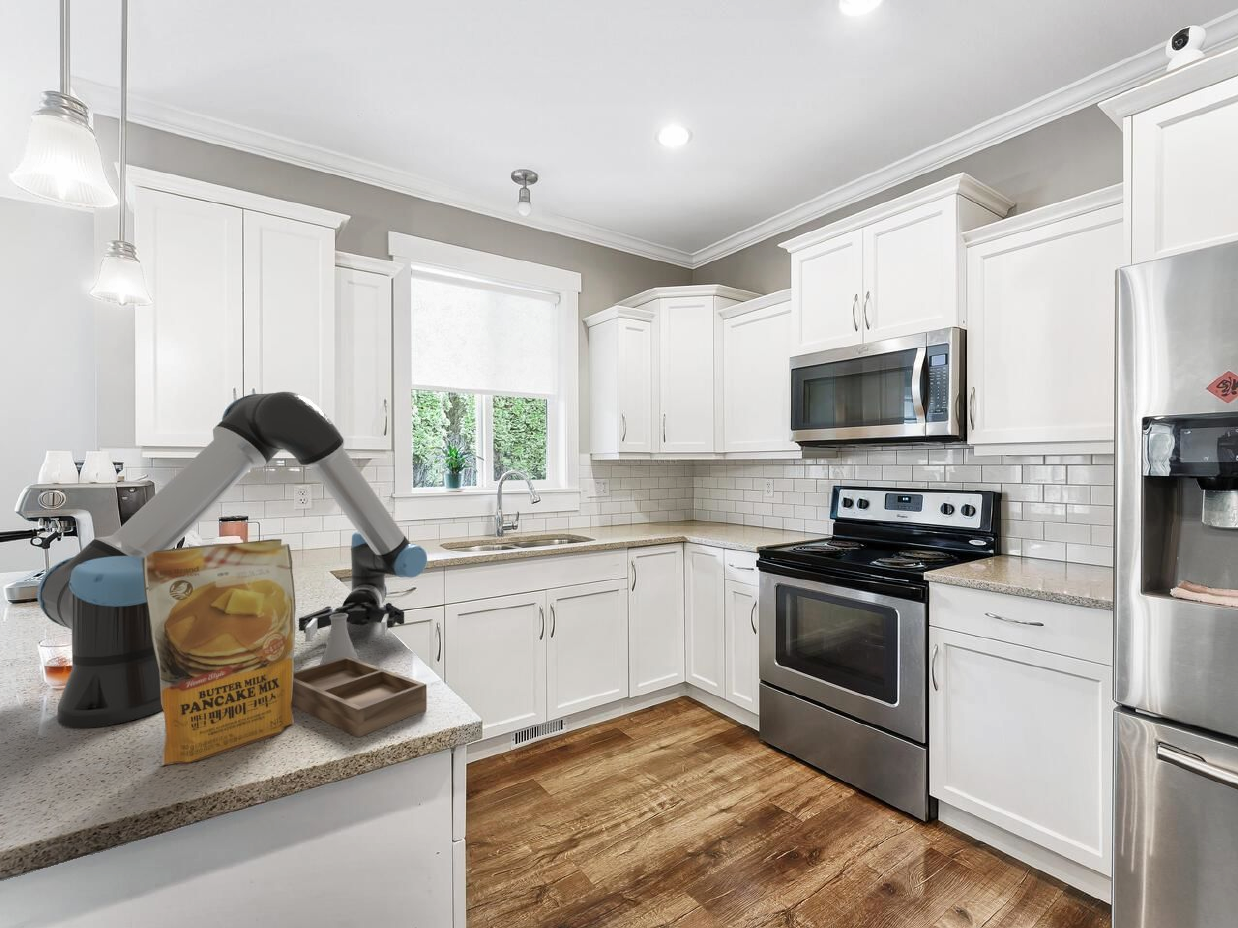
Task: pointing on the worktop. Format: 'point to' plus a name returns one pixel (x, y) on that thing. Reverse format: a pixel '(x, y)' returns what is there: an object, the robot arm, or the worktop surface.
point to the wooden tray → (357, 695)
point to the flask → (338, 640)
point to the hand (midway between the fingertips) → (345, 631)
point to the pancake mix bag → (222, 644)
